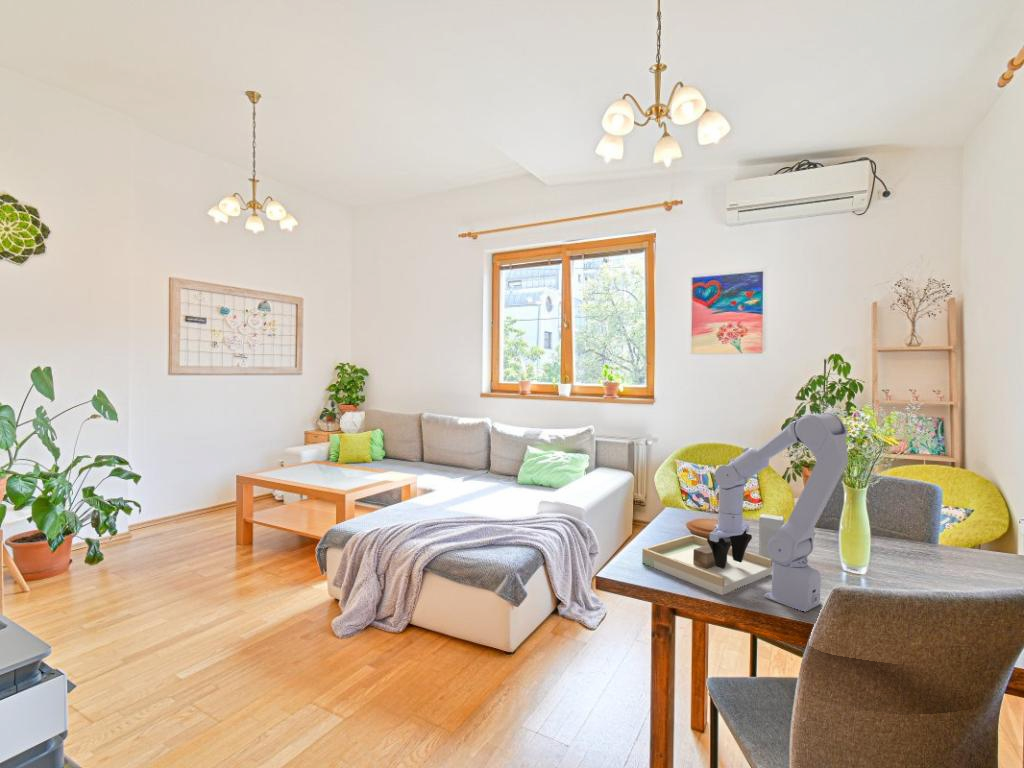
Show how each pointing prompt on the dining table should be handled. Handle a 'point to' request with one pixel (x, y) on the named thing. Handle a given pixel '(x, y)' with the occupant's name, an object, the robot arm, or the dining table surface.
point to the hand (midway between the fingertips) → (729, 564)
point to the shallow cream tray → (679, 563)
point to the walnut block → (704, 557)
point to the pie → (703, 527)
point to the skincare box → (768, 531)
